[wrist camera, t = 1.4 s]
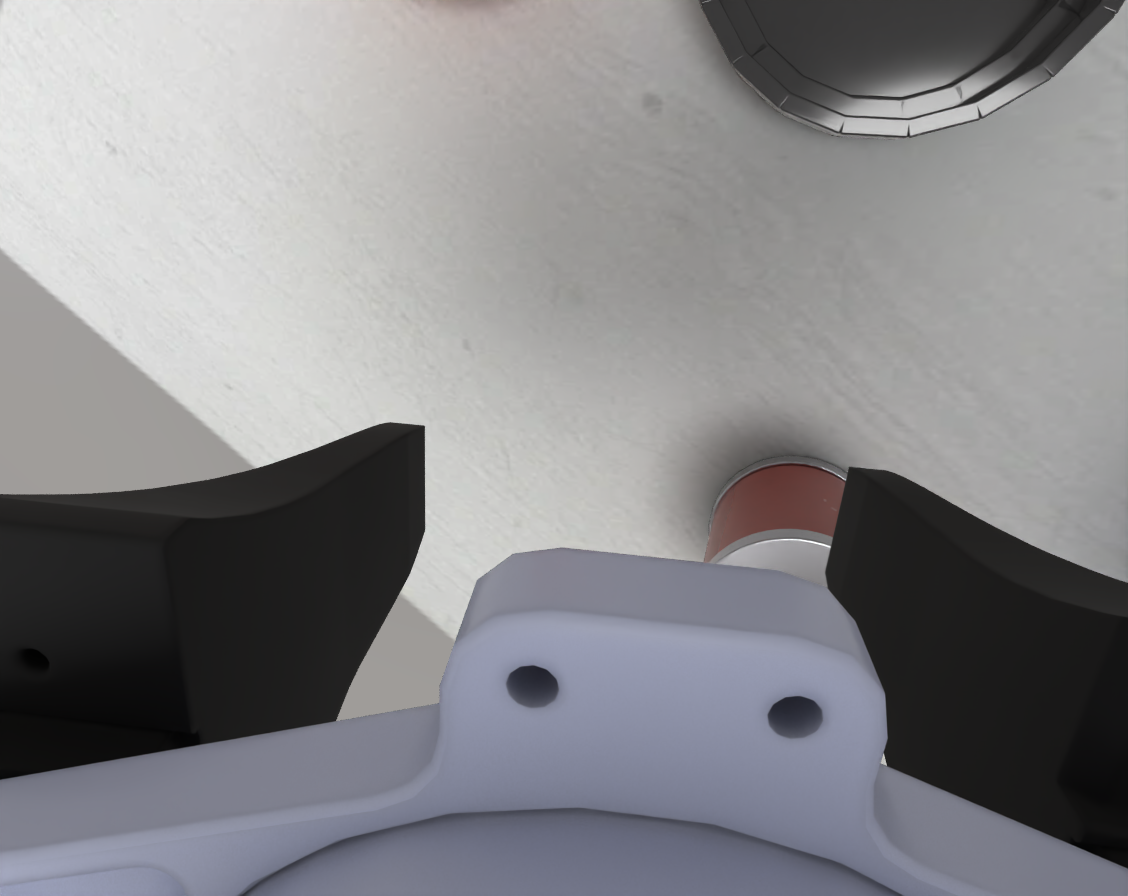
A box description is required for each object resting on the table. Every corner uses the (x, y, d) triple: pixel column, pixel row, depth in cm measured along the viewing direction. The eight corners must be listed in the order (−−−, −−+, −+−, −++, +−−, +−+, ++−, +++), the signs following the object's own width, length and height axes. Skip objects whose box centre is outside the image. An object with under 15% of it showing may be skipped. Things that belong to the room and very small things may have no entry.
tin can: (860, 615, 27) (878, 735, 22) (701, 585, 29) (678, 691, 23) (893, 468, 25) (922, 558, 20) (720, 443, 27) (700, 521, 21)
